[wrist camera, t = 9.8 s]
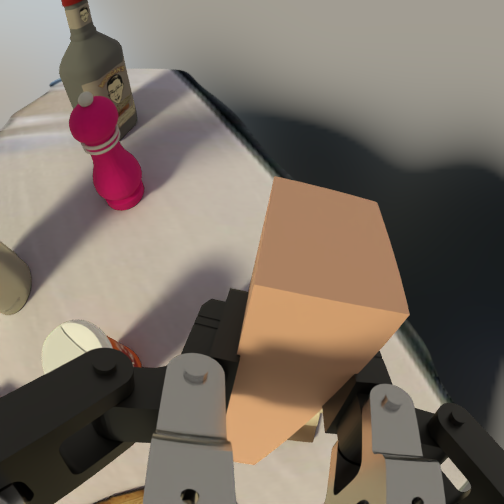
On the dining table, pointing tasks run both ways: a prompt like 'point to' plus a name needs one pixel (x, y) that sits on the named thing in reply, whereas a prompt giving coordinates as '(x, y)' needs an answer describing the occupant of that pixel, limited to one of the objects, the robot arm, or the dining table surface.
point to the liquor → (95, 65)
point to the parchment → (125, 498)
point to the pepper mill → (106, 151)
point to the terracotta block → (310, 312)
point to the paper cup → (77, 344)
